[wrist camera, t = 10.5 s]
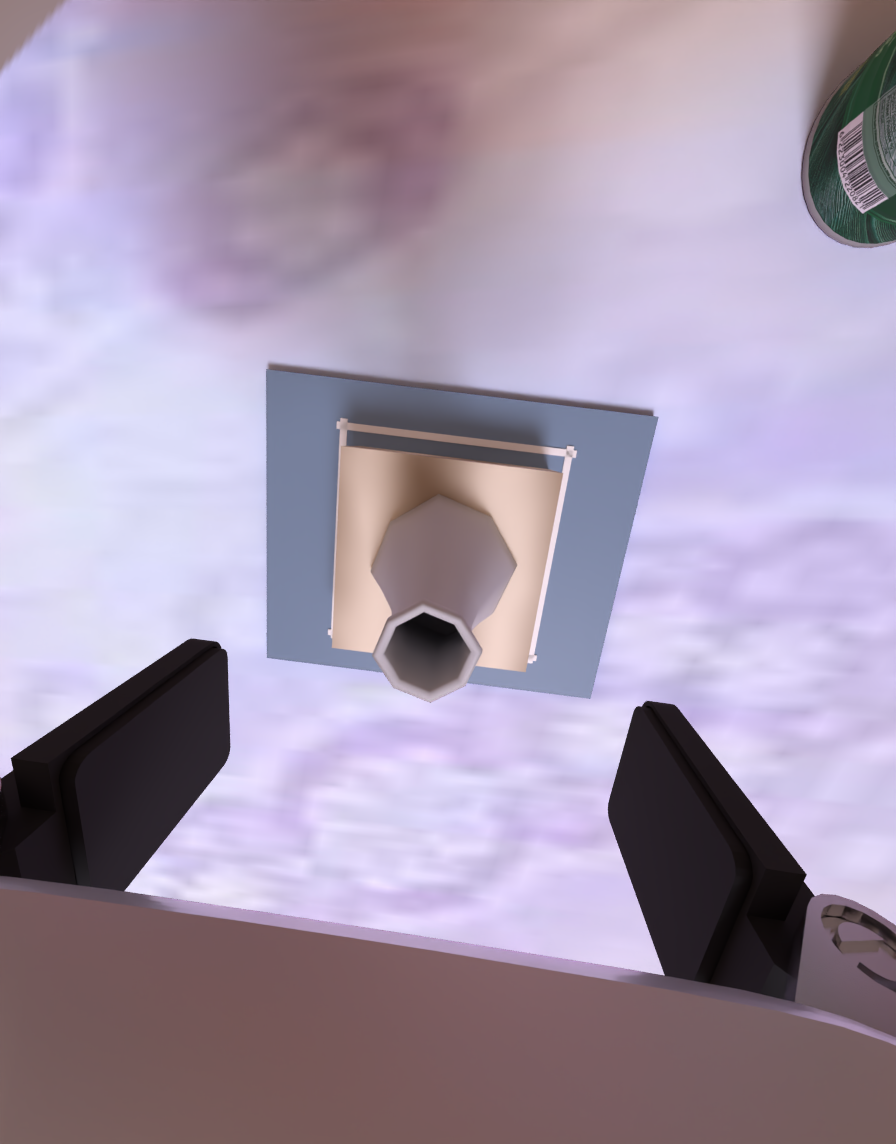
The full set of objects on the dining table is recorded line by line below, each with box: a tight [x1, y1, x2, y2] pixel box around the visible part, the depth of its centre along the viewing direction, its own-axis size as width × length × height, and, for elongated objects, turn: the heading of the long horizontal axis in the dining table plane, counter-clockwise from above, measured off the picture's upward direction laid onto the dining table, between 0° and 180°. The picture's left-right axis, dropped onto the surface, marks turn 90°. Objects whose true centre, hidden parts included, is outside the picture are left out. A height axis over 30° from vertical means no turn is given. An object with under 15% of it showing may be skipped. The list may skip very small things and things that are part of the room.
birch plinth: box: [332, 446, 563, 672], centre depth 25 cm, size 11×11×4 cm
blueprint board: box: [266, 369, 658, 699], centre depth 27 cm, size 22×18×1 cm
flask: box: [371, 494, 517, 703], centre depth 18 cm, size 7×7×10 cm
